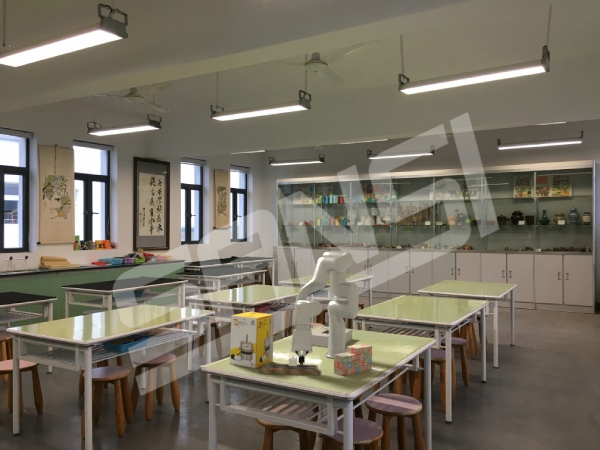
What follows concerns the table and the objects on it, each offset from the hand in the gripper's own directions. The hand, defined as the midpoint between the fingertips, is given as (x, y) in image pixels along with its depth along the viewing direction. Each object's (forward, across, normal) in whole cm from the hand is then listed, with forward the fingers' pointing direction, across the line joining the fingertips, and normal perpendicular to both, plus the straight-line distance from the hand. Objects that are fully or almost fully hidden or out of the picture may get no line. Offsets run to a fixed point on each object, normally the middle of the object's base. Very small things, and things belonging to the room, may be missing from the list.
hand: (301, 364), depth 239 cm
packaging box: (+4, +25, -16) cm, 30 cm away
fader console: (+4, +6, 0) cm, 7 cm away
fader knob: (+1, +4, 0) cm, 5 cm away
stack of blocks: (+4, -26, -2) cm, 27 cm away
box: (+4, -22, -72) cm, 76 cm away
